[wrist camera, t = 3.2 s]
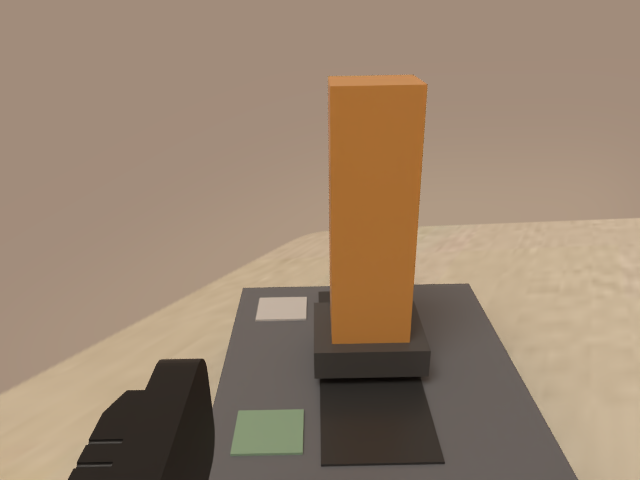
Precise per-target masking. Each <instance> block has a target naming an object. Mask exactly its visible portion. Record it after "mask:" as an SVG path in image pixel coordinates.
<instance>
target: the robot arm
mask: <svg viewBox="0 0 640 480" xmlns="http://www.w3.org/2000/svg"><path fill="white" fill-rule="evenodd" d="M214 447H215V426H214V418H213V410H212V403H211V395H210V387H209V380H208V372H207V366H206V362H205V360H204V359H162V360H159V361H158V363H157V365H156V366H155V369H154V371H153V373H152V375H151V378H150V380H149V382H148V385H147V387H146V389H145V390H127V391H126V392H125V393H124V394H122V395H121V396H120V397H119V398H118V399H117V400H116V401H115V402H114V403H113V404H112V405H111V406H110V407H109V408H108V409H106V410H105V411H104V412H103V413H102V415H101V417H100V419H99V421H98V423H97V425H96V427H95V429H94V431H93V433H92V434H91V436H90V438H89V444H88V445H86V446H85V448H84V450H83V452H82V454H81V455H80V457H79V459H78V461H77V467H76V468H74V469H73V471H72V473H71V475H70V477H69V478H68V480H209V476H210V472H211V467H212V463H213V457H214Z"/></svg>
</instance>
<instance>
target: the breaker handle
mask: <svg viewBox="0 0 640 480" xmlns="http://www.w3.org/2000/svg"><path fill="white" fill-rule="evenodd" d="M426 98H427V84H426V83H425V82H423V81H422V80H420V79H419V78H417V77H416V76H414V75H377V76H375V75H373V76H372V75H371V76H328V124H329V125H328V126H329V128H328V129H329V130H328V132H329V239H330V302H326V303H314V379H324V378H375V377H426V376H429V367H430V355H431V350H430V347H429V344H428V341H427V338H426V335H425V332H424V329H423V326H422V323H421V320H420V317H419V314H418V311H417V308H416V305H415V303H414V301H413V289H414V274H415V259H416V245H417V230H418V215H419V201H420V185H421V172H422V157H423V143H424V128H425V114H426Z"/></svg>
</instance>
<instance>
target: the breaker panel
mask: <svg viewBox="0 0 640 480" xmlns="http://www.w3.org/2000/svg"><path fill="white" fill-rule="evenodd" d="M413 301H414V303H415V305H416V308H417V311H418V314H419V317H420V320H421V323H422V326H423V329H424V332H425V335H426V338H427V341H428V344H429V347H430V350H431V355H430V367H429V376H426V377H375V378H324V379H314V303H326V302H330V286H320V287H268V288H243V291H242V294H241V298H240V302H239V306H238V310H237V314H236V318H235V322H234V326H233V330H232V334H231V338H230V342H229V346H228V350H227V354H226V358H225V362H224V366H223V370H222V373H221V377H220V381H219V385H218V389H217V393H216V397H215V401H214V405H213V409H212V410H213V418H214V426H215V447H214V457H213V463H212V467H211V472H210V476H209V480H578V479H577V477H576V475H575V473H574V471H573V470H572V468H571V466H570V464H569V462H568V461H567V459H566V457H565V455H564V454H563V452H562V450H561V448H560V446H559V445H558V443H557V441H556V439H555V437H554V436H553V434H552V432H551V430H550V428H549V427H548V425H547V423H546V421H545V419H544V418H543V416H542V414H541V412H540V411H539V409H538V407H537V405H536V403H535V402H534V400H533V398H532V396H531V394H530V393H529V391H528V389H527V387H526V385H525V384H524V382H523V380H522V378H521V376H520V375H519V373H518V371H517V369H516V368H515V366H514V364H513V362H512V360H511V359H510V357H509V355H508V353H507V351H506V350H505V348H504V346H503V344H502V342H501V341H500V339H499V337H498V335H497V333H496V332H495V330H494V328H493V326H492V325H491V323H490V321H489V319H488V317H487V316H486V314H485V312H484V310H483V308H482V307H481V305H480V303H479V301H478V299H477V298H476V296H475V294H474V292H473V290H472V289H471V287H470V285H469V284H424V285H414V289H413Z"/></svg>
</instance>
